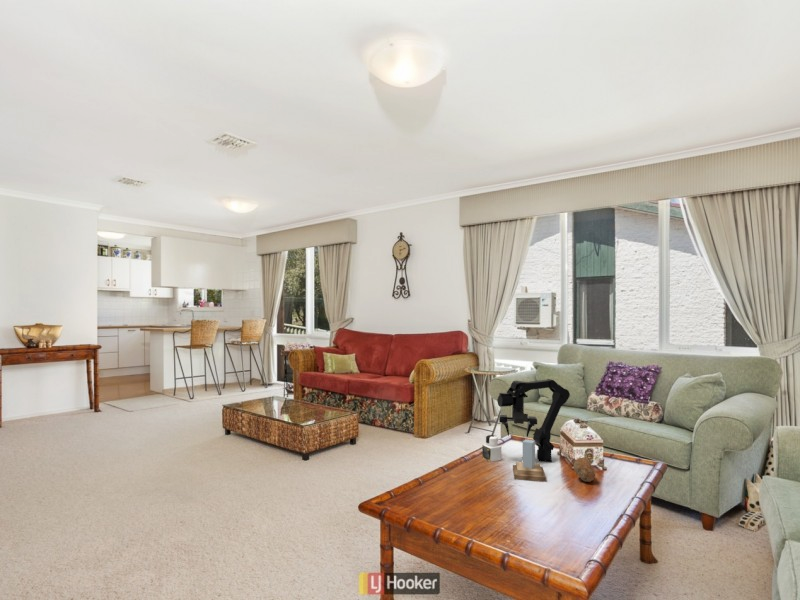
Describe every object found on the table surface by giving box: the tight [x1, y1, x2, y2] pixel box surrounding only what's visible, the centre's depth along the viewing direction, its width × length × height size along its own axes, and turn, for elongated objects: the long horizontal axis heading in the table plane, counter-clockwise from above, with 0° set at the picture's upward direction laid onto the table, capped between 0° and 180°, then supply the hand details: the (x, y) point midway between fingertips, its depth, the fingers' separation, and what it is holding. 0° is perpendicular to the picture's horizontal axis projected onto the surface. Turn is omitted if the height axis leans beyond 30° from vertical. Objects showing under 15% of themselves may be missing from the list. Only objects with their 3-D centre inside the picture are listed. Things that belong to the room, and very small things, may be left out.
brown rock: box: [573, 456, 596, 483], centre depth 211 cm, size 10×13×10 cm
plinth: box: [512, 461, 547, 483], centre depth 216 cm, size 14×14×4 cm
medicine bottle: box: [482, 434, 502, 463], centre depth 239 cm, size 7×7×12 cm
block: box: [522, 438, 536, 469], centre depth 216 cm, size 4×4×12 cm
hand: (517, 436), depth 235 cm, fingers open, 9 cm apart
